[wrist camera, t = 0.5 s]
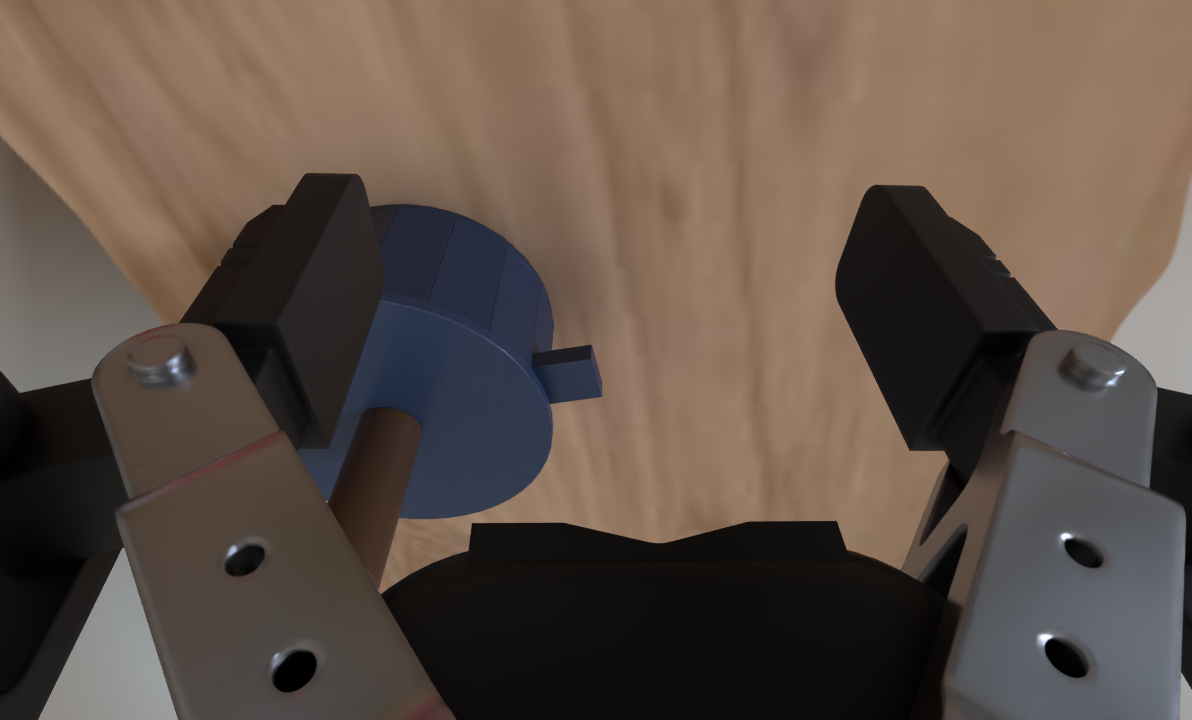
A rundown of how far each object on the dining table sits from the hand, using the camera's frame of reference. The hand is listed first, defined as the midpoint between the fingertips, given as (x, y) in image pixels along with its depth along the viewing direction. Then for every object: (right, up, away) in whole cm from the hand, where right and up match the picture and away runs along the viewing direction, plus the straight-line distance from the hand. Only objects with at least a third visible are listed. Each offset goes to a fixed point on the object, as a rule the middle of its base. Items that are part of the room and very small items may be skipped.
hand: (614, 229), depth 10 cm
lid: (-10, -5, +19) cm, 22 cm away
